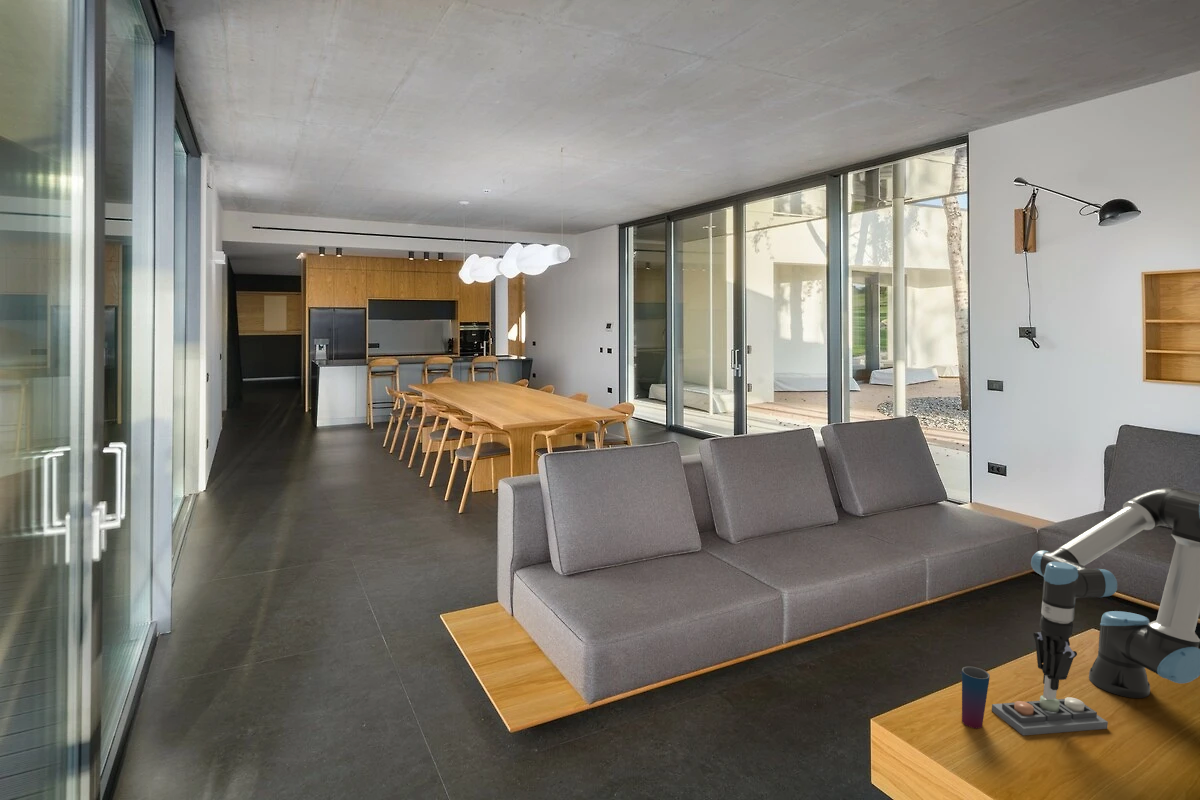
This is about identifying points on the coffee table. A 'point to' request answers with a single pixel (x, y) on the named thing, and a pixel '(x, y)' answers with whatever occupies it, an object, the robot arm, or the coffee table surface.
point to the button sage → (1049, 704)
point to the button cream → (1074, 704)
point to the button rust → (1023, 708)
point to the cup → (974, 695)
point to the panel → (1049, 719)
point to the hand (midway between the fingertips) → (1049, 697)
